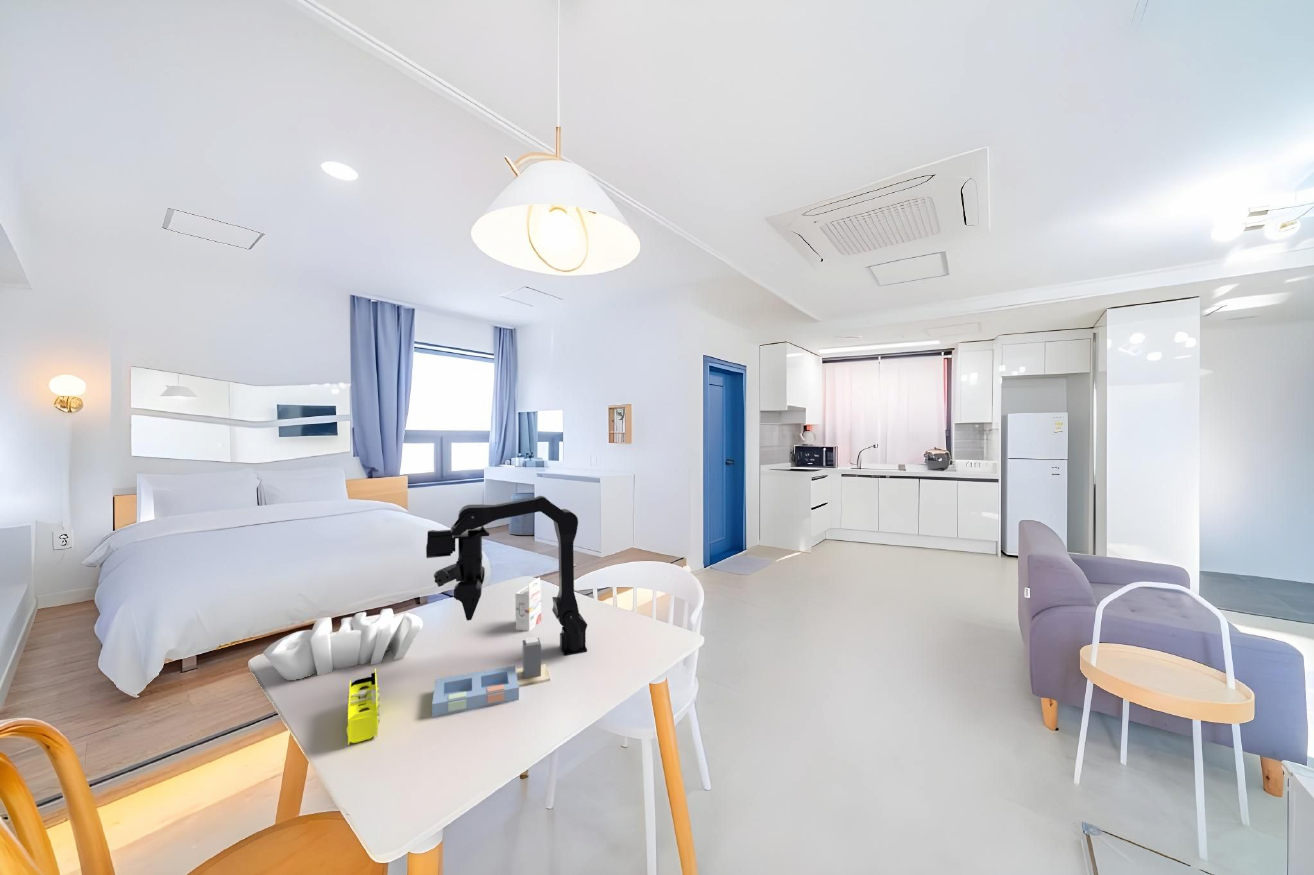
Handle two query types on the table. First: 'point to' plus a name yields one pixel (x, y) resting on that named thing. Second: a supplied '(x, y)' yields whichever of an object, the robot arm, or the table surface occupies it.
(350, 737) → the yellow toy chassis
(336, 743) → the table surface
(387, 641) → the wavy white extrusion
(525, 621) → the ink cartridge box
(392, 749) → the table surface
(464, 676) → the dock
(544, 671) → the coaster
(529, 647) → the plug
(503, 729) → the table surface
